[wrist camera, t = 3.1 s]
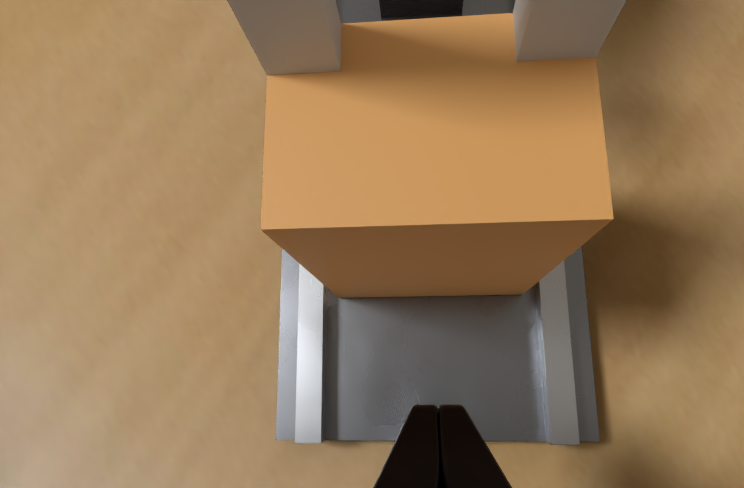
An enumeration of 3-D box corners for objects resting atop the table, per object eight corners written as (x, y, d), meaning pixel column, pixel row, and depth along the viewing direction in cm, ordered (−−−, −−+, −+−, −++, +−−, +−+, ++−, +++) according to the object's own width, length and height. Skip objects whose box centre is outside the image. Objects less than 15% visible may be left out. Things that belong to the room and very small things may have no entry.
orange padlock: (522, 294, 18) (1073, -165, 3) (338, 297, 19) (-79, -68, 3) (514, 177, 19) (894, -668, 4) (339, 183, 19) (18, -524, 4)
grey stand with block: (590, 438, 18) (1311, 716, 3) (283, 436, 19) (-209, 650, 4) (547, -44, 22) (784, -864, 7) (297, -26, 23) (71, -725, 8)
